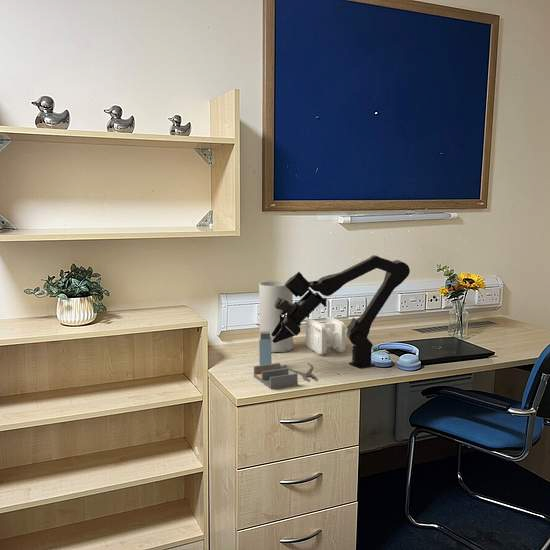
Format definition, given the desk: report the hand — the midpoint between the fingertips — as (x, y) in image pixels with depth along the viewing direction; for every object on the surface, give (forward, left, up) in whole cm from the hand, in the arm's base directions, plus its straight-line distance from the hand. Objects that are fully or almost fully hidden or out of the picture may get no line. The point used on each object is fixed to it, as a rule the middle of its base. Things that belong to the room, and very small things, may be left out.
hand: (272, 338), depth 209 cm
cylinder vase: (+20, -13, -10) cm, 26 cm away
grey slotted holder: (-14, +7, -10) cm, 18 cm away
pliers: (-11, -7, -10) cm, 17 cm away
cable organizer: (+8, -27, -10) cm, 30 cm away
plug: (+1, +2, -10) cm, 10 cm away
